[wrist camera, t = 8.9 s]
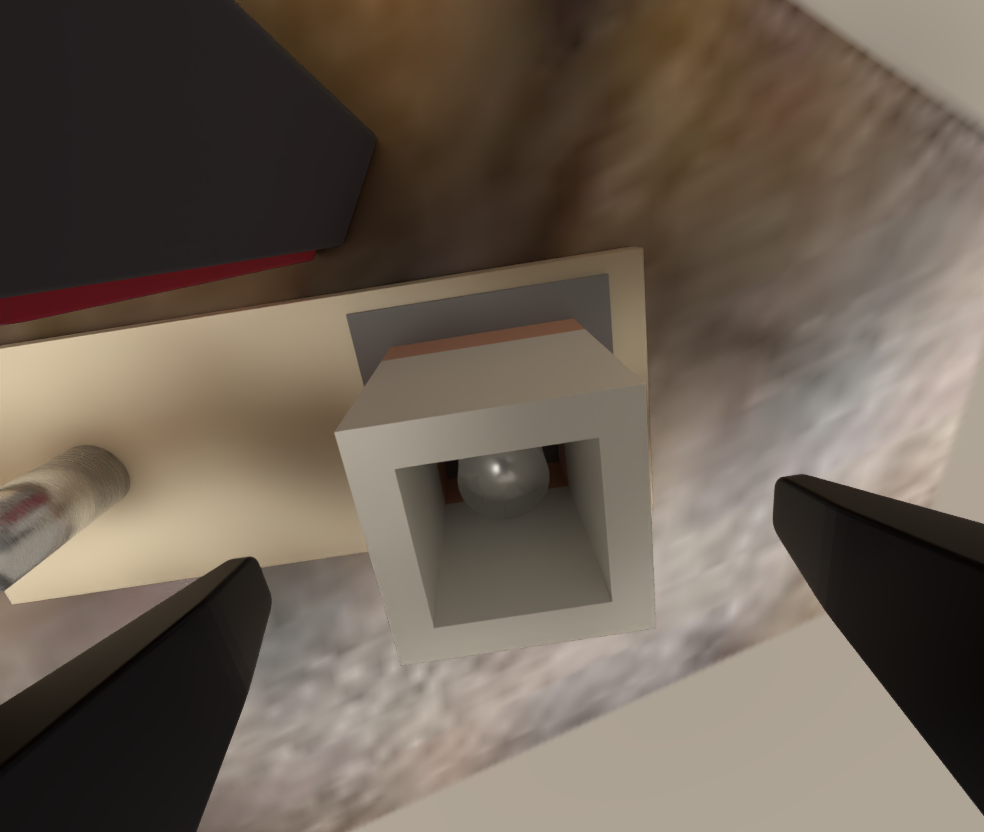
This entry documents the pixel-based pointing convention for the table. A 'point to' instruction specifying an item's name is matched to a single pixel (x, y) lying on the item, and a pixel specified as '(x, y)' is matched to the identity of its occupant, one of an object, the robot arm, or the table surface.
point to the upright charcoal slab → (160, 152)
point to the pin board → (262, 412)
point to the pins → (105, 481)
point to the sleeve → (504, 542)
